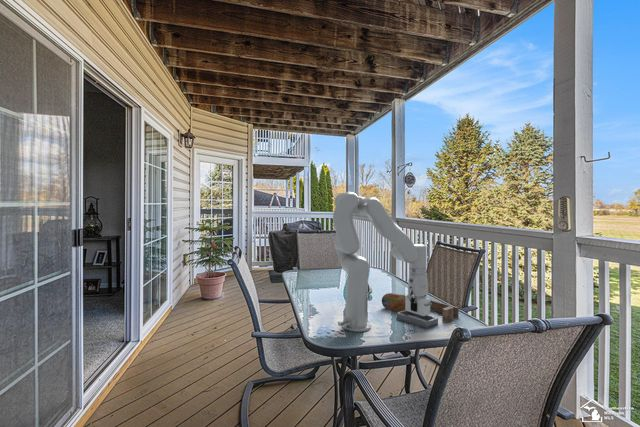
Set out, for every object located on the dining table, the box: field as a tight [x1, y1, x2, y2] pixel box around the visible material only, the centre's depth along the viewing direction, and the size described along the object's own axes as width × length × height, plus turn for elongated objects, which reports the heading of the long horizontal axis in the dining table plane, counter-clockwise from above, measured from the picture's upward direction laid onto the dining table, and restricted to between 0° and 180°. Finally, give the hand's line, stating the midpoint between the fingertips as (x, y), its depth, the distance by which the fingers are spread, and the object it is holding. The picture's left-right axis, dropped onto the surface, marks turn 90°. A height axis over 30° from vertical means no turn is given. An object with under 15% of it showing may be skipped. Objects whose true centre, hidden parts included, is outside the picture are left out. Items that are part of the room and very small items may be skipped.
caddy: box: [405, 294, 432, 316], centre depth 145 cm, size 5×11×7 cm, turn 38°
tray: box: [396, 310, 439, 330], centre depth 145 cm, size 10×16×3 cm, turn 38°
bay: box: [430, 299, 460, 324], centre depth 155 cm, size 11×18×6 cm, turn 38°
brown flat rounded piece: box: [381, 292, 407, 312], centre depth 162 cm, size 15×3×8 cm, turn 62°
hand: (417, 309), depth 145 cm, fingers closed on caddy, 5 cm apart
